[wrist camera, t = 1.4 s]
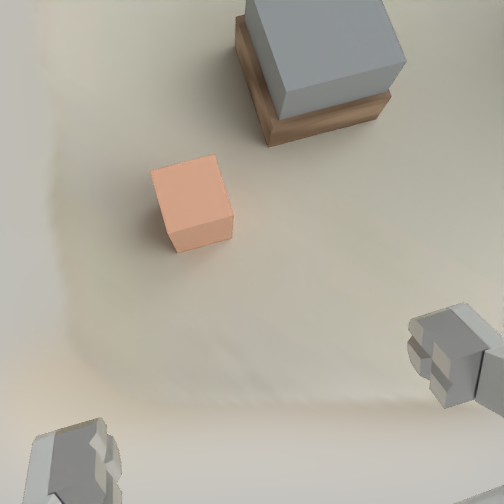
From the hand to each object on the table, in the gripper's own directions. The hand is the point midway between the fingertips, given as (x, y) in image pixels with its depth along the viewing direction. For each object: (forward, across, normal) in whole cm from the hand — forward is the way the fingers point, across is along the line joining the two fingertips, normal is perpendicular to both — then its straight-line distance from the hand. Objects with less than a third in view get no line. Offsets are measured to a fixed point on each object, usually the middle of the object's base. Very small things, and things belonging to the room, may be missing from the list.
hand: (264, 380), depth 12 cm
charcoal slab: (+33, -14, 0) cm, 36 cm away
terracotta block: (+28, 0, +11) cm, 30 cm away
